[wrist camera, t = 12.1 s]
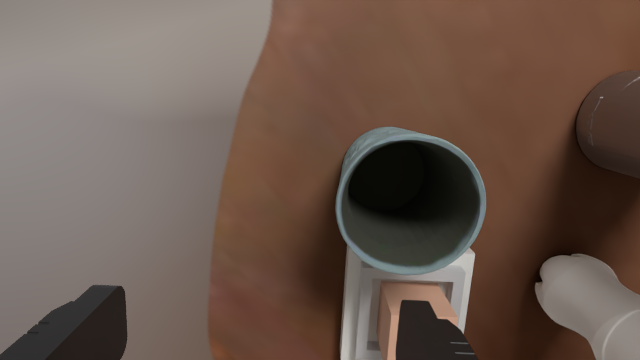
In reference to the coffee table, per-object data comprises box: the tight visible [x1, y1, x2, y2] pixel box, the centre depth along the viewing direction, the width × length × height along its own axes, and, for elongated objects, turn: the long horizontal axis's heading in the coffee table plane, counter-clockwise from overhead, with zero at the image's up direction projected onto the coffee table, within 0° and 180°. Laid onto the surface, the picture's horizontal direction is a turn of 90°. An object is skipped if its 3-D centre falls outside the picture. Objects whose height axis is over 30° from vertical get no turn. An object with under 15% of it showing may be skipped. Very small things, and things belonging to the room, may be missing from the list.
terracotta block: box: [376, 281, 458, 360], centre depth 38 cm, size 6×6×6 cm
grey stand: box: [340, 245, 475, 360], centre depth 41 cm, size 12×12×4 cm
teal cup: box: [335, 127, 486, 276], centre depth 34 cm, size 10×10×12 cm
